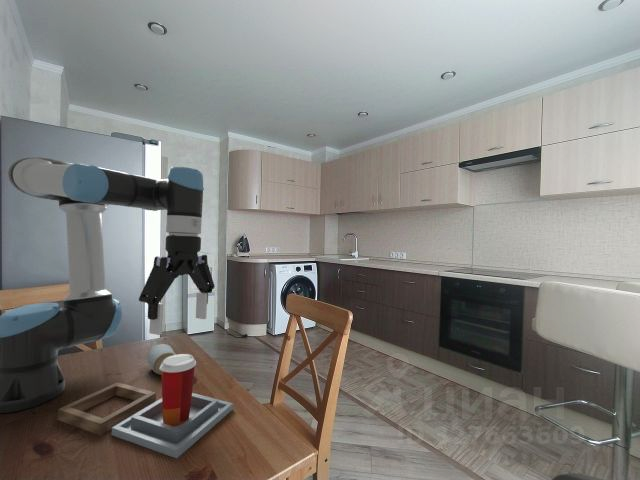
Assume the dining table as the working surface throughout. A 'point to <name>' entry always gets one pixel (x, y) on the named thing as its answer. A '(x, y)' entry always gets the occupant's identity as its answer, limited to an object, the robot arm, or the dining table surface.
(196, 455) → the dining table surface
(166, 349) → the ceramic mug
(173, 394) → the paper cup
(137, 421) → the grey tray
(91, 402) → the walnut collar
